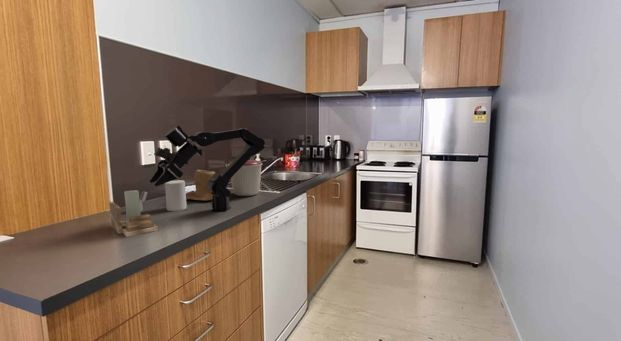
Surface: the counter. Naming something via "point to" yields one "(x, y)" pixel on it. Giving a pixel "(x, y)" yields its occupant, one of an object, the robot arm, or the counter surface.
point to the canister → (247, 179)
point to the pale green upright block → (132, 204)
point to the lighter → (142, 199)
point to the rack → (124, 222)
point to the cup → (175, 195)
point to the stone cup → (201, 186)
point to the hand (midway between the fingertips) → (152, 183)
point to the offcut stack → (139, 223)
